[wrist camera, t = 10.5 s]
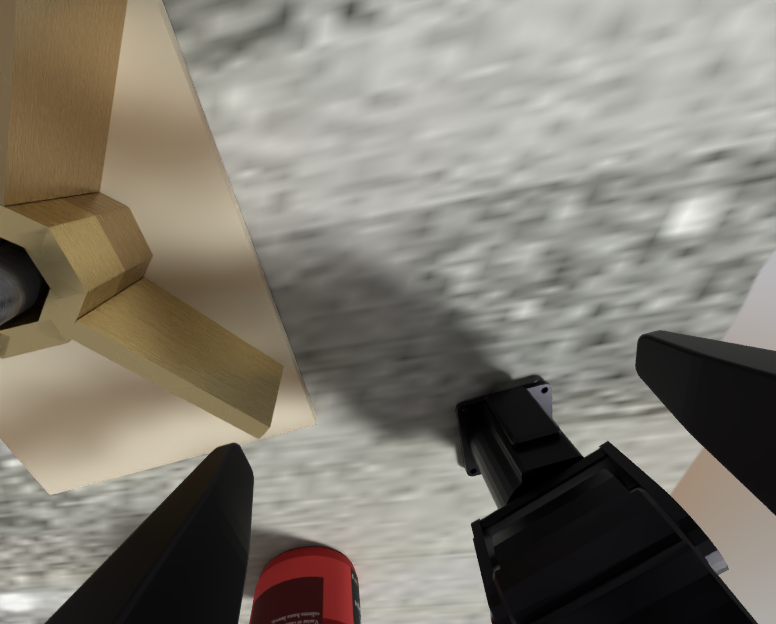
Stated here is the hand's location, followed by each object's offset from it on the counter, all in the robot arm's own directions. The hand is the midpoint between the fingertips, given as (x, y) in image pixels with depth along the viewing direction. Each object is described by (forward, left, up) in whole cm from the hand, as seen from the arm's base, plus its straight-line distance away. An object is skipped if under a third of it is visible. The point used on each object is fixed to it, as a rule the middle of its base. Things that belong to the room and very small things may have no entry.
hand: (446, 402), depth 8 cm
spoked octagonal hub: (+4, +11, -12) cm, 17 cm away
